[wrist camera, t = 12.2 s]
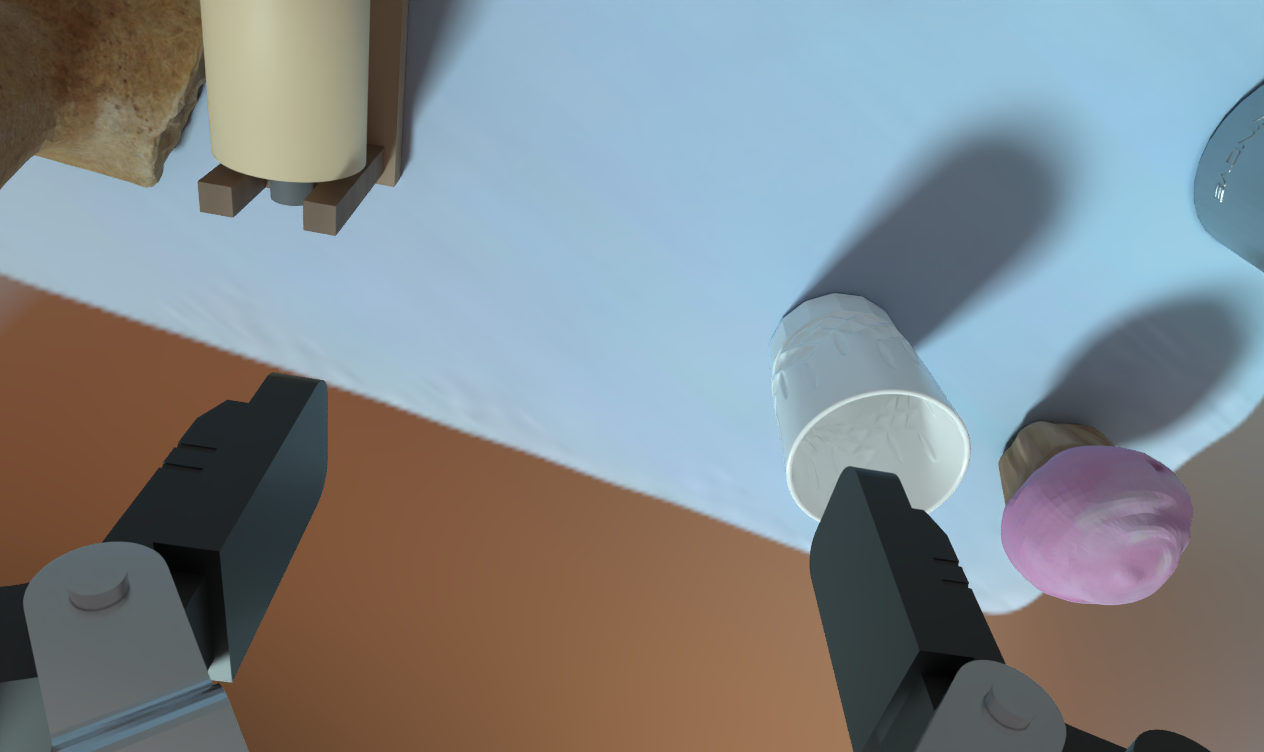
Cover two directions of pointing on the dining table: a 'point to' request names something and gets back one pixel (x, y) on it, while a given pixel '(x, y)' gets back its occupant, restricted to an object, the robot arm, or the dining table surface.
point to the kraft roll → (288, 89)
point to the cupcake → (1090, 515)
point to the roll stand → (384, 137)
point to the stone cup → (98, 83)
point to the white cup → (860, 405)
